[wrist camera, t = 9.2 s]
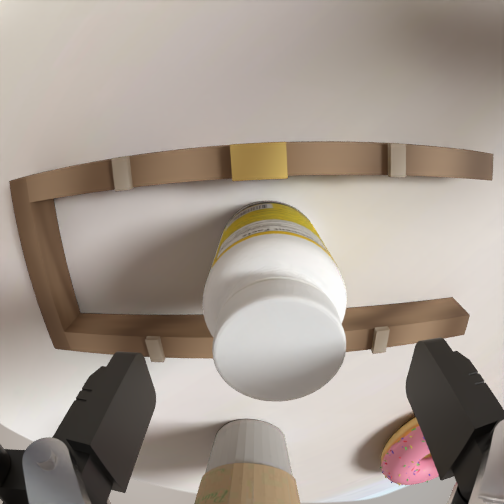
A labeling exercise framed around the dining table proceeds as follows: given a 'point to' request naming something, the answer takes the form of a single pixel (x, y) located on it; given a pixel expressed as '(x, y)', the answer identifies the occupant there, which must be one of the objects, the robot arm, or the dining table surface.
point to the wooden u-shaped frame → (238, 168)
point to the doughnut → (408, 456)
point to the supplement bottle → (274, 305)
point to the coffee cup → (248, 467)
